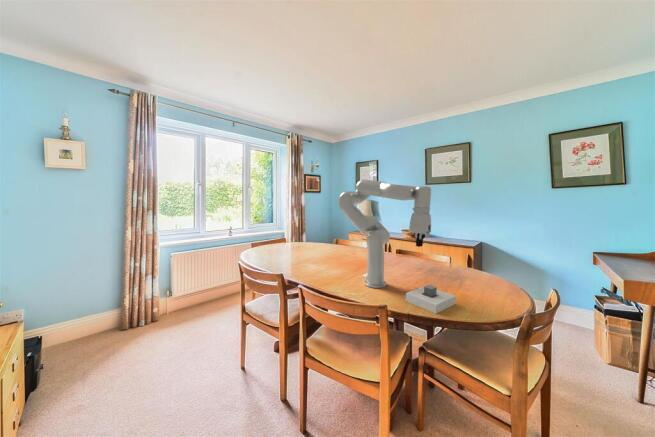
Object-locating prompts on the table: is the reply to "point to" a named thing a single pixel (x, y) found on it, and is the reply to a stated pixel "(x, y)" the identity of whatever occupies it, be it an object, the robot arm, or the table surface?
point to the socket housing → (430, 300)
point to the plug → (430, 291)
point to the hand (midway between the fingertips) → (419, 246)
